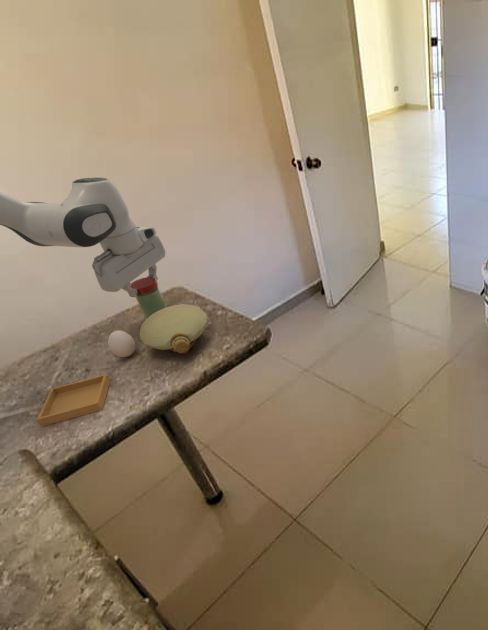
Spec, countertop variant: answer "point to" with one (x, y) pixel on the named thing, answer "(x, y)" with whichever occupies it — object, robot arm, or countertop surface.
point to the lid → (144, 285)
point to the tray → (74, 400)
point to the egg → (121, 343)
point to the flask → (174, 328)
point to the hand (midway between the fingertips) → (145, 288)
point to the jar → (151, 302)
